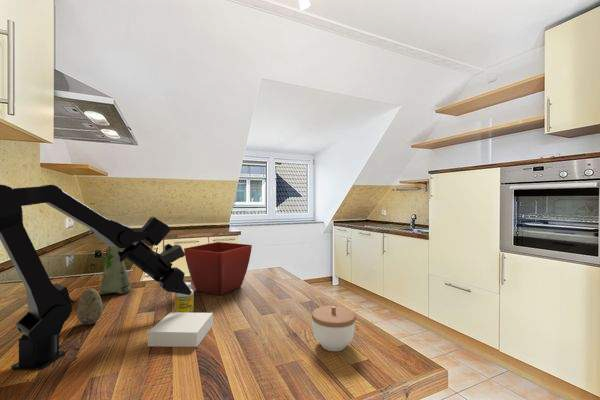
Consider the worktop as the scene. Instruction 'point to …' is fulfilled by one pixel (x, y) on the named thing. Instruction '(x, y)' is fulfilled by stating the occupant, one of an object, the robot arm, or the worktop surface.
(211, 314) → the podium
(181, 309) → the supplement bottle
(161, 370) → the worktop surface
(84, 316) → the decorative egg
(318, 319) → the lidded jar
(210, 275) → the plant pot
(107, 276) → the pouch
